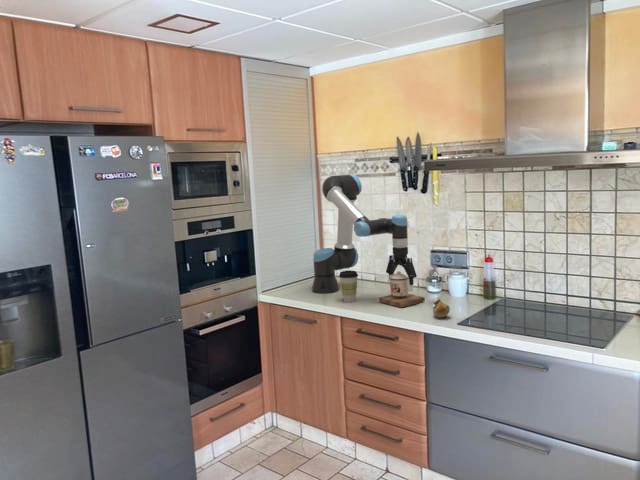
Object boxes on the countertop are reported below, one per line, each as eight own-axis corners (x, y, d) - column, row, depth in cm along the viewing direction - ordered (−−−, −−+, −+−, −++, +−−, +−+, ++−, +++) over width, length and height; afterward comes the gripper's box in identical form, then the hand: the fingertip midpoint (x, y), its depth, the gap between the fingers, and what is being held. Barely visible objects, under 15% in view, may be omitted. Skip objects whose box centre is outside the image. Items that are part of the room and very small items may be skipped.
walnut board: (379, 302, 266) (379, 297, 266) (402, 296, 275) (401, 292, 275) (401, 308, 253) (401, 303, 253) (424, 302, 262) (424, 297, 262)
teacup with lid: (386, 294, 266) (385, 272, 264) (398, 291, 271) (398, 269, 270) (404, 298, 256) (403, 275, 255) (416, 295, 262) (416, 272, 260)
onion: (431, 319, 233) (431, 302, 232) (433, 314, 241) (432, 297, 239) (449, 320, 231) (449, 302, 230) (450, 315, 239) (449, 297, 237)
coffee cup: (344, 304, 267) (343, 275, 265) (337, 299, 276) (335, 271, 274) (362, 301, 270) (361, 272, 268) (354, 297, 279) (352, 269, 277)
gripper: (378, 245, 268) (379, 286, 271) (412, 250, 248) (413, 294, 251) (388, 243, 272) (390, 284, 275) (423, 247, 253) (424, 291, 256)
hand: (401, 289), depth 263 cm, fingers closed on teacup with lid, 12 cm apart
